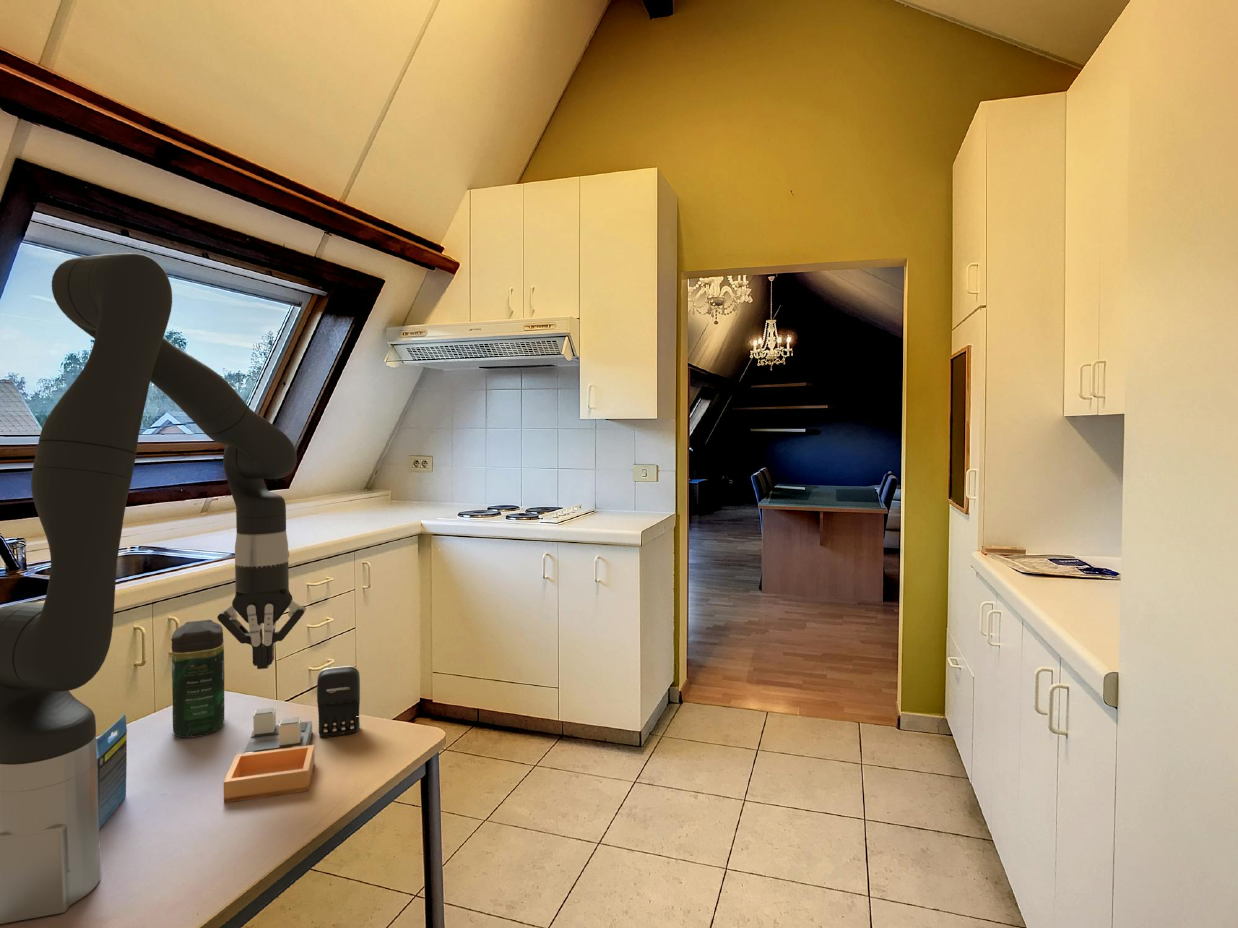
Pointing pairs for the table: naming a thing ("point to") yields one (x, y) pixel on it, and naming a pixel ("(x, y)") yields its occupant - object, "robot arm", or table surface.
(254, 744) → the panel
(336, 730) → the battery charger
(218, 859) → the table surface
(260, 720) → the breaker
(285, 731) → the block
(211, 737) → the table surface
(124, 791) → the label tape box
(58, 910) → the robot arm
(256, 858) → the table surface
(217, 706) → the coffee jar
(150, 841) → the table surface
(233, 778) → the tray
